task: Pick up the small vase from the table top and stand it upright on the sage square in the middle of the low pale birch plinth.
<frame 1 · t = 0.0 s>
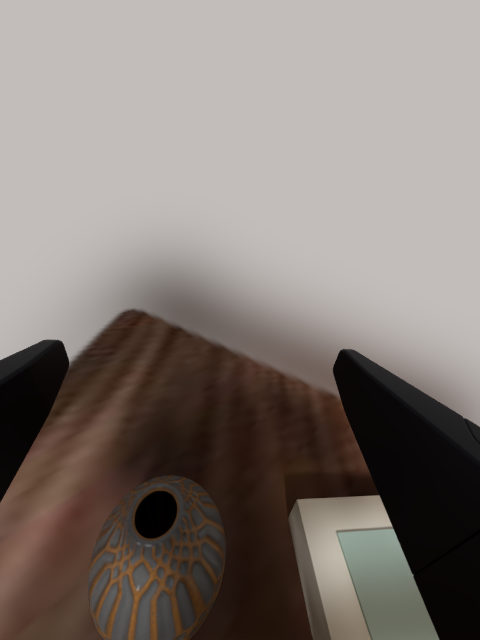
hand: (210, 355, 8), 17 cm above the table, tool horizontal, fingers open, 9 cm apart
vase: (165, 575, 16), on the table
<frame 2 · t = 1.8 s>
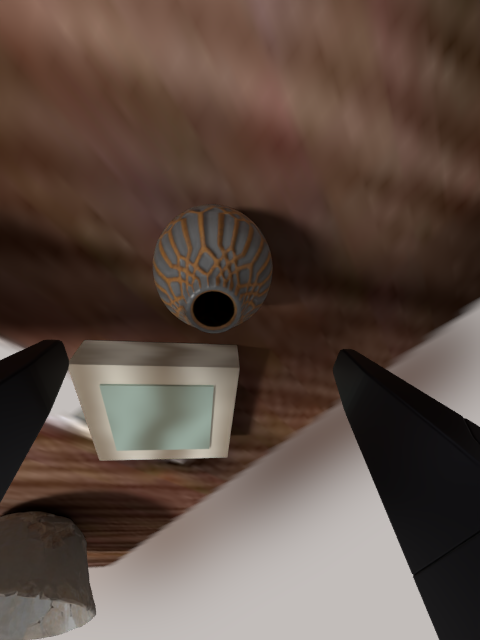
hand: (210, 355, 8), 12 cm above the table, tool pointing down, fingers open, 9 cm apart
plinth: (167, 393, 25), on the table
vase: (214, 249, 18), on the table
ceramic bowl: (39, 519, 38), on the table
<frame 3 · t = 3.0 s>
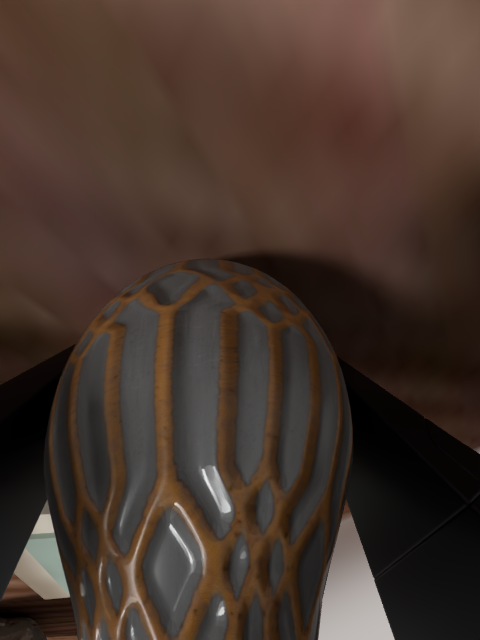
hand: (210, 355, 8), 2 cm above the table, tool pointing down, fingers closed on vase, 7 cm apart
plinth: (143, 501, 17), on the table
vase: (211, 319, 10), on the table, touching gripper
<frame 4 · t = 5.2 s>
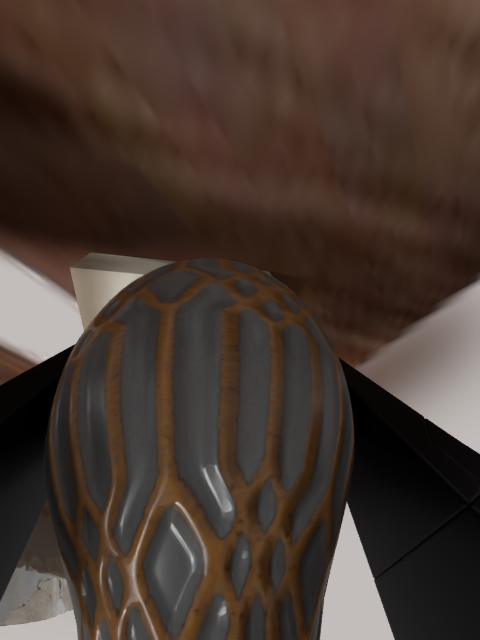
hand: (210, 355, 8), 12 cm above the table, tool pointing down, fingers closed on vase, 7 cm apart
plinth: (182, 333, 22), on the table
vase: (212, 318, 10), point 10 cm above the table, touching gripper
ceramic bowl: (28, 491, 34), on the table
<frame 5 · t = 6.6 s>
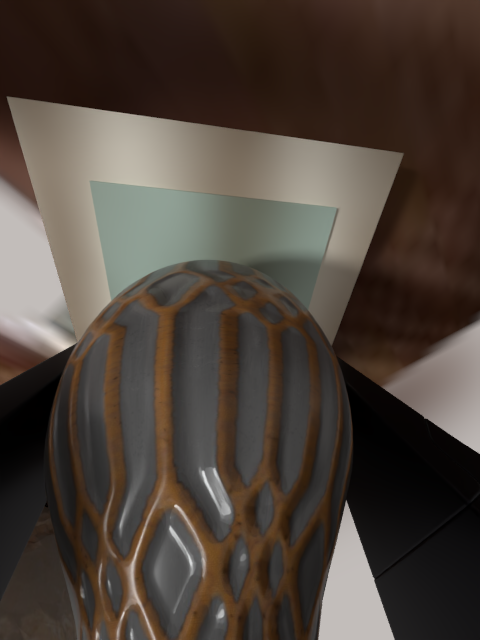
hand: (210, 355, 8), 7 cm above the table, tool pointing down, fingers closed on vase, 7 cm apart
plinth: (214, 277, 14), on the table
vase: (211, 319, 10), point 5 cm above the table, touching gripper
ceramic bowl: (10, 510, 26), on the table
when the fingers open (6 cm above the table, at t = 7.6 s): vase drops 1 cm, resting on plinth.
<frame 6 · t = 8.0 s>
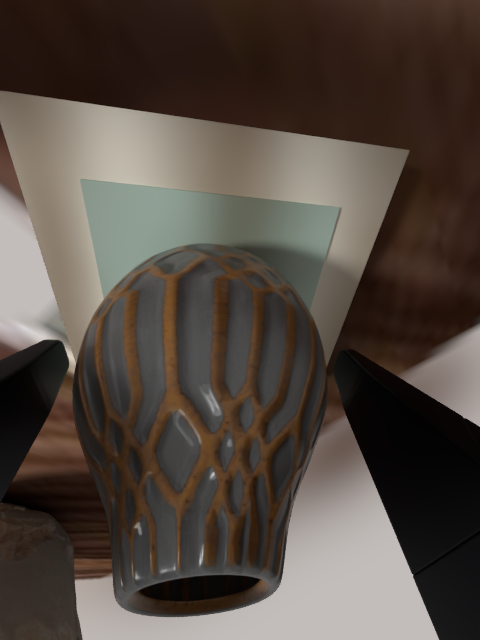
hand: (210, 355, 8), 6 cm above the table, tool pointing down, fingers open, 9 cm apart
plinth: (212, 278, 14), on the table
vase: (210, 303, 11), point 3 cm above the table, touching plinth
ceramic bowl: (6, 515, 26), on the table
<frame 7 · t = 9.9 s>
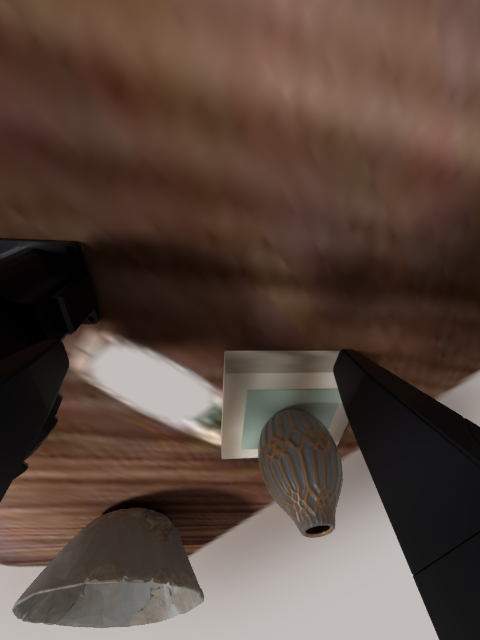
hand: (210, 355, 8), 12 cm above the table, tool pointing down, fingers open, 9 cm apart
plinth: (281, 396, 28), on the table
vase: (287, 419, 25), point 3 cm above the table, touching plinth
ceramic bowl: (134, 515, 41), on the table
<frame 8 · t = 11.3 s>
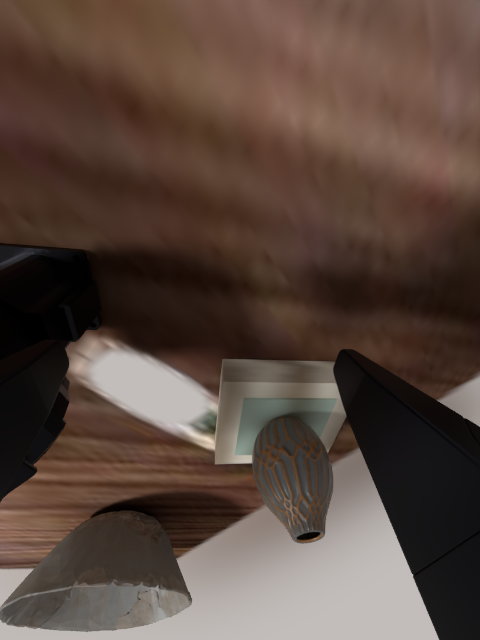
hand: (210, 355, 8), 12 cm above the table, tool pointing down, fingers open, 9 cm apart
plinth: (275, 404, 28), on the table
vase: (281, 427, 26), point 3 cm above the table, touching plinth
ceramic bowl: (124, 518, 41), on the table
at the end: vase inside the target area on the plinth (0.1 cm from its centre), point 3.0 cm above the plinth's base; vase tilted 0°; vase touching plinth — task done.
